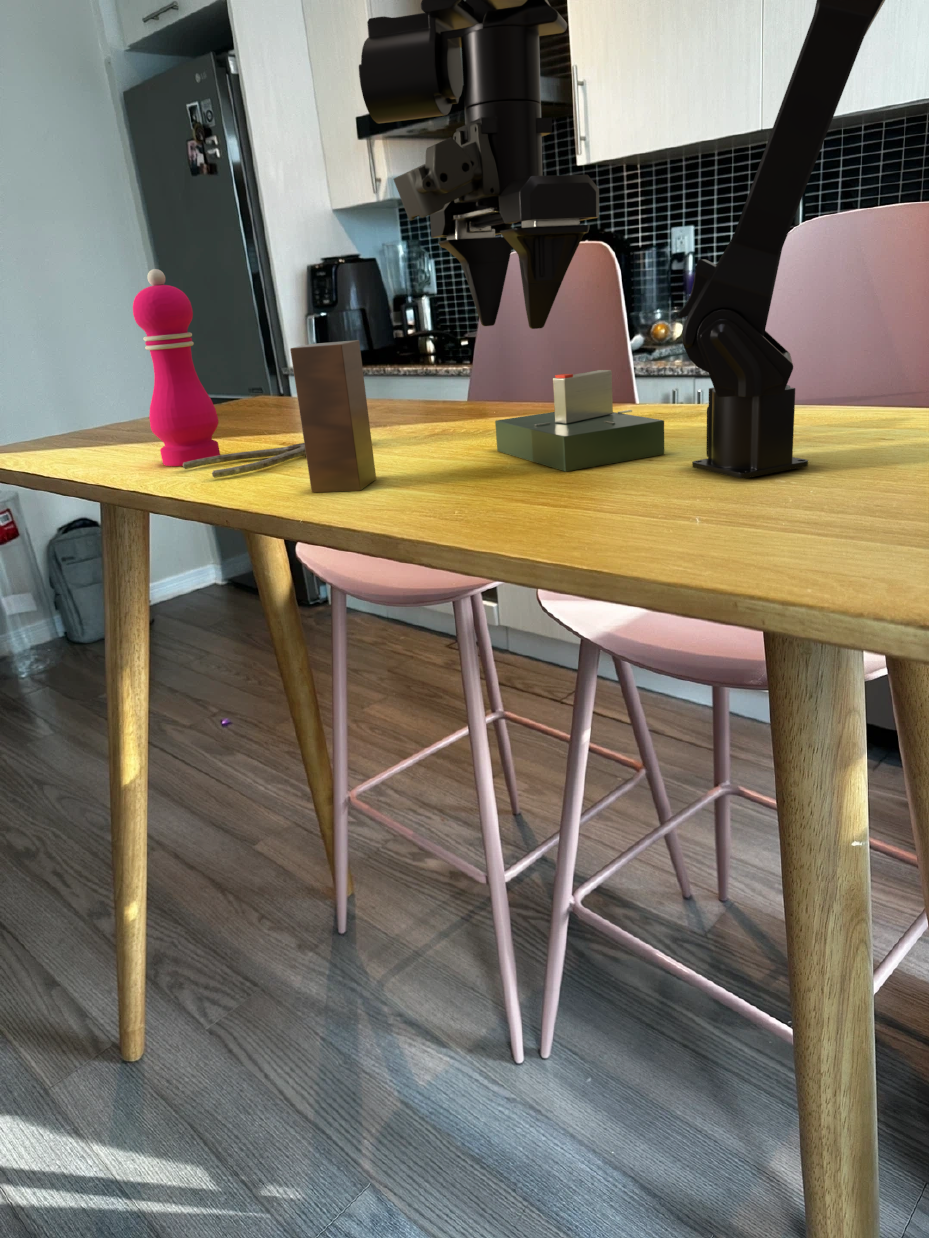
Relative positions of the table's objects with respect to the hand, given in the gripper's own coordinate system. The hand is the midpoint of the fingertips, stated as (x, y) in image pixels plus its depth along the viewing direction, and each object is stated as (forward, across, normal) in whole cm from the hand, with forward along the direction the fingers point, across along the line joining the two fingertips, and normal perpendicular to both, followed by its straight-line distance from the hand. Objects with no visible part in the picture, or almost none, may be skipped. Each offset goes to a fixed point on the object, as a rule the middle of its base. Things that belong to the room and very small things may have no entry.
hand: (511, 327), depth 72 cm
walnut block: (+12, -7, -13) cm, 20 cm away
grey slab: (+9, -5, +9) cm, 14 cm away
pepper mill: (+13, -34, -24) cm, 44 cm away
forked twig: (+13, -28, -16) cm, 34 cm away
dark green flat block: (+12, -5, +8) cm, 15 cm away
